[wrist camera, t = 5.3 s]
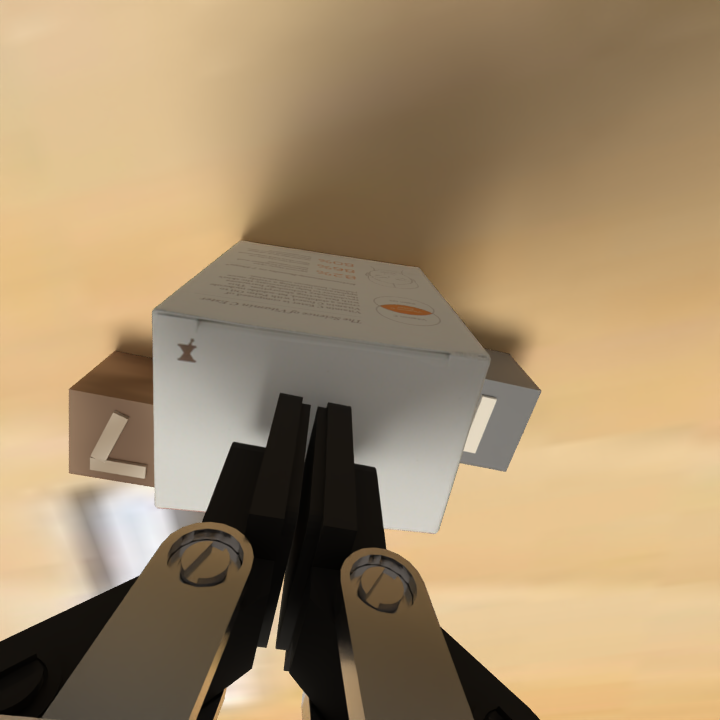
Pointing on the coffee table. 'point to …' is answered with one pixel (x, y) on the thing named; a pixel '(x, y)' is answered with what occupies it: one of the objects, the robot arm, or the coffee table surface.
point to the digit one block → (500, 414)
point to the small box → (314, 372)
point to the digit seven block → (114, 421)
